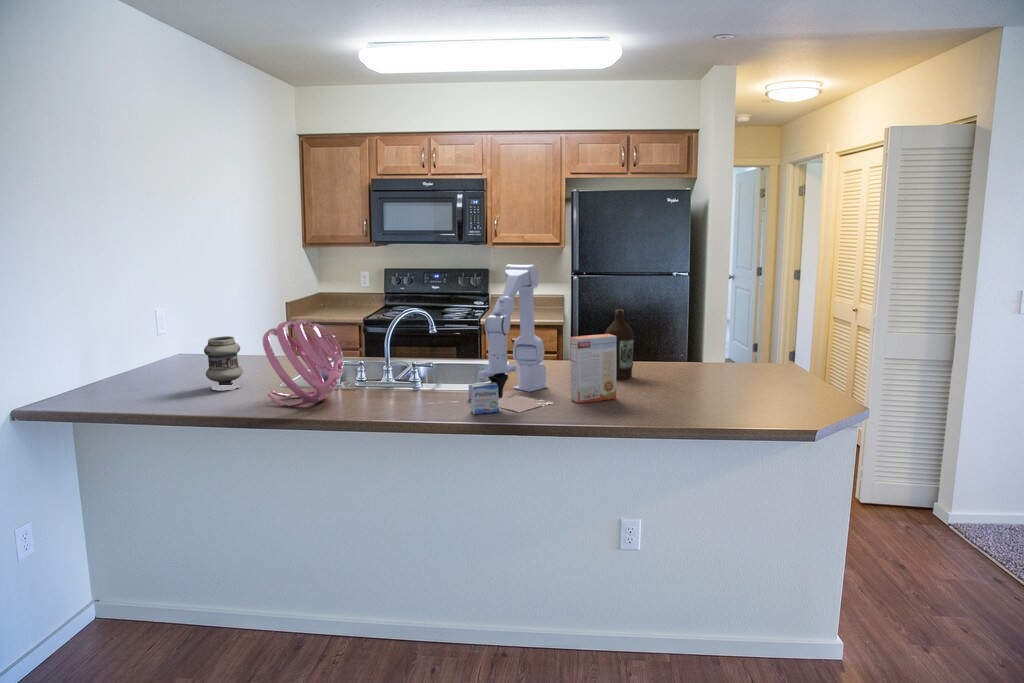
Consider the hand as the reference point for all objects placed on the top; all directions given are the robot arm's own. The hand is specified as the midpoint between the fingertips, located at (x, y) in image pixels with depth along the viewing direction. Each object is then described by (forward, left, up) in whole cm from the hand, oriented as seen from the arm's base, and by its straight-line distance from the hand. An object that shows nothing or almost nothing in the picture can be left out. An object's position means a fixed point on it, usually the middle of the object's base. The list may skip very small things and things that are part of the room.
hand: (498, 397), depth 220 cm
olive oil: (-61, 0, -4) cm, 61 cm away
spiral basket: (+37, -51, -4) cm, 63 cm away
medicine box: (+6, 0, -4) cm, 7 cm away
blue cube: (-4, -13, -4) cm, 14 cm away
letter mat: (-9, 0, -3) cm, 10 cm away
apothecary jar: (+47, -90, -4) cm, 102 cm away
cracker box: (-29, +14, -4) cm, 32 cm away
